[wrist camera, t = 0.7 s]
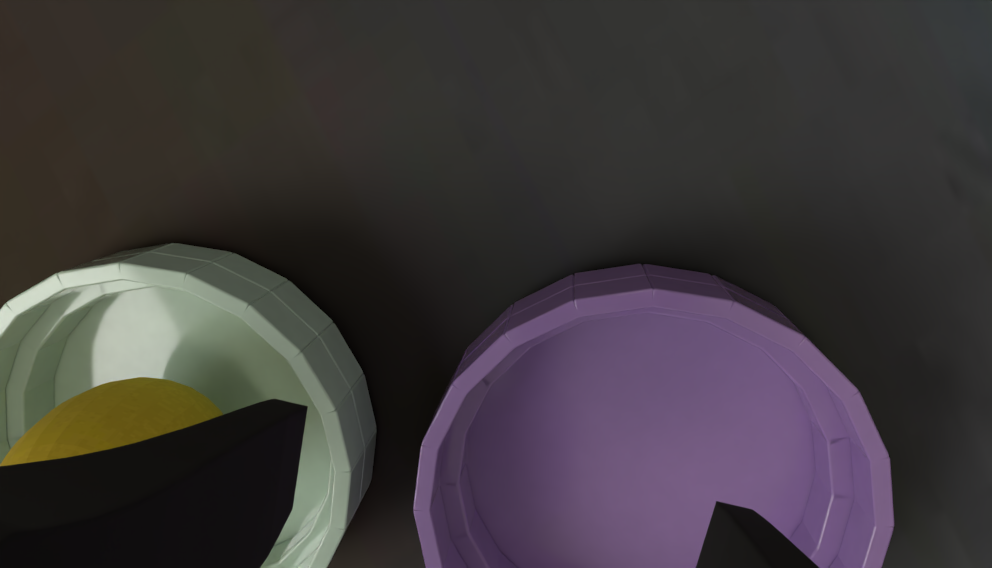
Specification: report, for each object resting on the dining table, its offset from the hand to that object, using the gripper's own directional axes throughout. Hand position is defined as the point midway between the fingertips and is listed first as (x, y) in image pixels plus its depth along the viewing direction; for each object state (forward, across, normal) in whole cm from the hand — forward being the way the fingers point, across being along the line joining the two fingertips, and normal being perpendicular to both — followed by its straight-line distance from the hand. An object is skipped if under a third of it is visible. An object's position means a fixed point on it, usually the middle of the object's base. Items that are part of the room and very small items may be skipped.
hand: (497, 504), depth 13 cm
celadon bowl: (+10, +10, +6) cm, 15 cm away
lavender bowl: (+10, -4, +3) cm, 12 cm away
